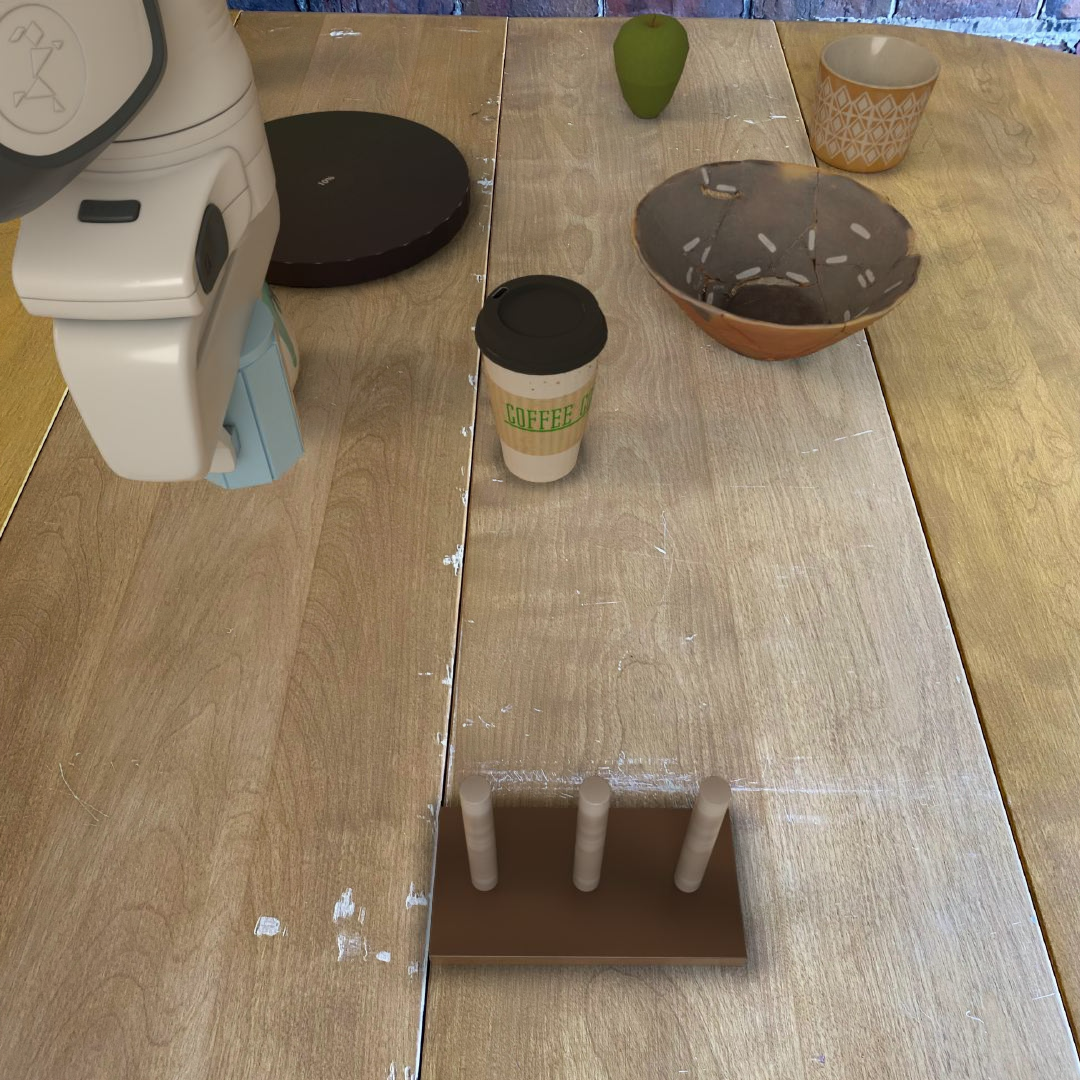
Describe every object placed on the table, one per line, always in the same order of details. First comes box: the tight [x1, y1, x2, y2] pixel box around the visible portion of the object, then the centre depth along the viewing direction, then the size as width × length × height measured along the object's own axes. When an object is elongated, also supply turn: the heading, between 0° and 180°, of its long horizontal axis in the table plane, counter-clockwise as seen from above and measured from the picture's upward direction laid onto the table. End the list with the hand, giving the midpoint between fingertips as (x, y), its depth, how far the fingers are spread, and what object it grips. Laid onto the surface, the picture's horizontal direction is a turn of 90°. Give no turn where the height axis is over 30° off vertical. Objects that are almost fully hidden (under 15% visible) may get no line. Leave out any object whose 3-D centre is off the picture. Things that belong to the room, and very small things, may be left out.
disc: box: [264, 110, 471, 288], centre depth 106 cm, size 30×30×3 cm
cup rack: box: [428, 774, 748, 967], centre depth 55 cm, size 9×18×14 cm, turn 90°
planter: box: [809, 33, 942, 174], centre depth 110 cm, size 13×13×10 cm
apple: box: [612, 13, 690, 119], centre depth 115 cm, size 9×8×12 cm
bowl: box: [630, 159, 923, 362], centre depth 90 cm, size 25×25×10 cm
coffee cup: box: [474, 274, 609, 484], centre depth 77 cm, size 10×10×15 cm
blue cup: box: [203, 298, 306, 491], centre depth 50 cm, size 6×6×8 cm
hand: (236, 410), depth 50 cm, fingers closed on blue cup, 6 cm apart
